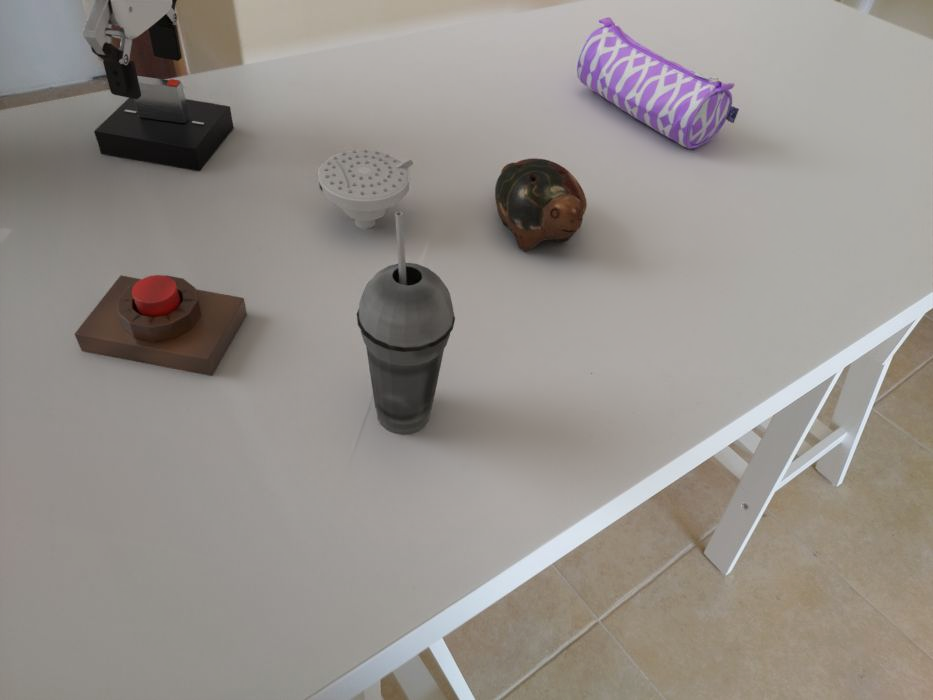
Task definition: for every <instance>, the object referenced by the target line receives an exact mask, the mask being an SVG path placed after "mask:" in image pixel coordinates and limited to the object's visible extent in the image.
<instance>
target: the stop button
mask: <svg viewBox="0 0 933 700" xmlns="http://www.w3.org/2000/svg"><path fill="white" fill-rule="evenodd" d="M167 276H168V275H167ZM167 276H164V275H163V274H162V275H161V274H155V275H149V276H146V277H143V278H140V279H141V280H140V281H138V282H137V283H136V284H135V285H134V287H133V289H132V295H133V298H134V301H135V304H136V307H137V310H138V311H139V312H140V313H141V314H142V315H144V316H148V317H158V316H164V315H168V314H170V313H171V312H173V311H175V310H176V309H177V308H178V306H179V304H180V297H179V293H178V290H177V286H176V283H175V281H174V280H173V279H171V278H169V277H167Z"/></svg>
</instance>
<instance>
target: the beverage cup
mask: <svg viewBox="0 0 933 700" xmlns="http://www.w3.org/2000/svg"><path fill="white" fill-rule="evenodd" d="M394 216H395V217H394V219H395V233H396V235H395V236H396V249H397V263H394V264H391V265H388V266H386V267H384V268H382V269H380V270H379V271H377V272H376V273H375V275H373V277H372V278H371V279H370V280H369V281H368V282H367V283H366V285H365V286H364V289H363V291H362V293H361V296H360V301H359V302H358V304H359V305H358V309H357V312H356V321H357V325H358V328H359V329H360V334H361V337H362V340H363V343H364V345H365V347H366V355H367V362H368V367H369V374H370V381H371V389H372V395H373V403H374V408H375V410H376V417H377V420H378V422H379V423H380V425H381V426H382V427H383V428H384V429H385V430H386V431H389V432H391V433H393V434H399V435H410V434H413V433H416V432H419V431H421V429H423V428H424V427H425V426H426V425H427V423H428V422H429V419H430V416H431V411H432V409H433V405H434V401H435V396H436V390H437V386H438V381H439V376H440V372H441V367H442V361H443V356H444V351H445V348H446V346H447V345H448V342H449V339H450V336H451V332H452V331H453V330H454V326H455V321H456V316H455V312H454V306H453V301H452V297H451V293H450V291H449V289H448V287H447V285H446V284H445V283H444V281H443V280H442V279H441V277H440V276H439V275H437V274H436V273H435V272H434V271H432V269H430V268H428V267H426V266H423V265H421V264H418V263H413V262H406V248H405V233H404V232H405V229H404V214H403V212H402V211H396V212H395V214H394Z"/></svg>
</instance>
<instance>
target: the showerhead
mask: <svg viewBox="0 0 933 700" xmlns="http://www.w3.org/2000/svg"><path fill="white" fill-rule="evenodd" d="M413 165H414V161H413V160H412V159H411V158H407V159H405V160H403V161H401V160H400V159H399V158H397V157H395V156H394V155H392V154H389V153H386V152H383V151H378V150H372V149H354V150H347V151H343V152H339V153H337V154H333V155H332V156H331V157H329V158H327V159H326V160H324V161H323V162H322V164H321V165H320V167H319V168H318V172H317V179H318V189H319V191H320V193H321V195H322V196H323V198H324V199H326V200H327V201H328V202H330V203H332V204H333V205H335V206H337V207H340V208H342V211H343V213H344V214H345V215H346V216H347V217H349V218H351V219H352V220H354V224H355V226H356V227H358V228H359V229H365V230H367V229H372V228H373V227H375V225H376V220H377V219H380V218H381V217H383V216H384V215H385V214H387V213H386V212H387V210H388V208H391V207H393V206H395V205H397V204H398V203H400V202H401V201H403V200H404V198H406V196H407V195H408V192H409V190H410V180H411V179H410V178H411V174H410V171H409V168H410V167H411V166H413Z"/></svg>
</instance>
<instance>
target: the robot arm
mask: <svg viewBox="0 0 933 700" xmlns="http://www.w3.org/2000/svg"><path fill="white" fill-rule="evenodd" d="M177 1H178V0H81V3H82V7H83V11H84V15H85V18H86V22H85V24H84V27H83V29H82V35H83V37H84V39H85V40H86V42H87V43H88V45H89V46H90V48H91V52H92V53H93V54H94V55H96V56H97V58H98V60H99V61H102V63H103V66H104V71H105V75H106V79H107V83H108V87H109V91H110V93H111V94H112V95H114V96H116V97H117V96H118V97H123V98H127V99H128V98H133V99H139V98H140V97H141V91H140V86H139V82H138V77H137V76H138V72H137V68H136V65H135V64H136V63H135V61H134V60H131V59H130V58H131V52H132V51H131V50H132V47H133V46H132V45H133V40H134V39H137V38H138V37H140V36H141V35H142V34H143V33H144V32H145V33H146V31H147V30H148V33H149V38H150V39H149V40H150V45H151V48H152V53H153V55H154V57H156V58H161V59H164V60H165V59H166V60H171V61H176V62H179V61H181V59H182V58H183V55H182V50H181V44H180V38H179V32H178V26H177V23H178V14H177V12H176V11H175V9H176V5H177ZM113 26H116V27H119V28H122V29H123V30H121V29H116V28H113ZM112 38H114V39H118V40H120V42H119V44H120V45H119V48H118V47H116V46H115V45H113V43H112Z"/></svg>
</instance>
